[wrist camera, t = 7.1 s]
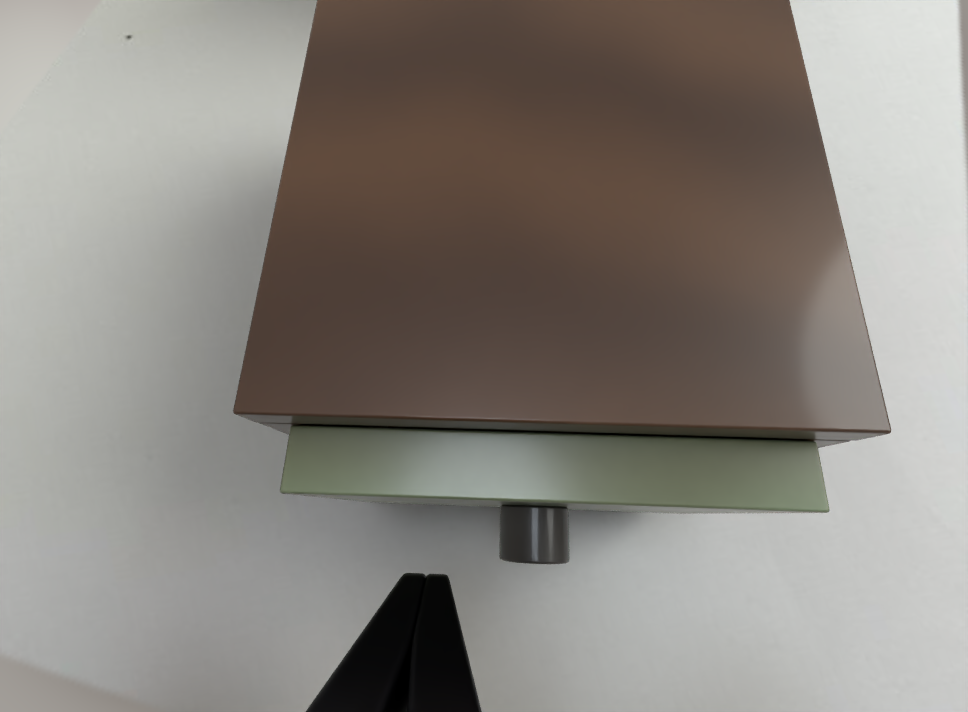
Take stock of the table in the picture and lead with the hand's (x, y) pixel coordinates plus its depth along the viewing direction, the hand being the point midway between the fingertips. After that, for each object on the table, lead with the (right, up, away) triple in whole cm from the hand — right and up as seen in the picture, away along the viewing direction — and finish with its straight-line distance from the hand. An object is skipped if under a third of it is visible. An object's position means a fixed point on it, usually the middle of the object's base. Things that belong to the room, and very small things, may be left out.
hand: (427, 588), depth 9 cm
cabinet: (+3, +7, +9) cm, 12 cm away
